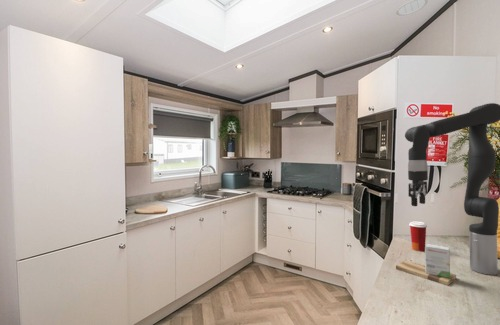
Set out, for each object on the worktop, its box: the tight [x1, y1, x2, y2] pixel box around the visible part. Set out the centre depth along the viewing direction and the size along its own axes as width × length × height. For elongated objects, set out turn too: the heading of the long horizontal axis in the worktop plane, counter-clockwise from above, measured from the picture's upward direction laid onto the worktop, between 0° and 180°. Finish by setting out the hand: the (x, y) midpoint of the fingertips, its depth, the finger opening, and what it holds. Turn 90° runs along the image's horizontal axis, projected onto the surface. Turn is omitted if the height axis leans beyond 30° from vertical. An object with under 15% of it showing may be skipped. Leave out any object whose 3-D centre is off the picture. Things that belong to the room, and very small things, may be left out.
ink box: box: [424, 243, 451, 278], centre depth 110 cm, size 9×5×12 cm, turn 52°
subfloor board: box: [395, 259, 457, 287], centre depth 114 cm, size 10×20×2 cm, turn 35°
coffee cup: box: [408, 220, 428, 252], centre depth 142 cm, size 8×8×15 cm
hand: (418, 204), depth 117 cm, fingers open, 8 cm apart
